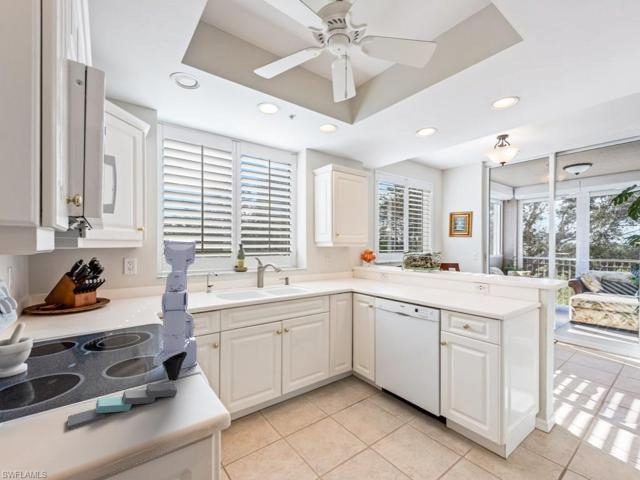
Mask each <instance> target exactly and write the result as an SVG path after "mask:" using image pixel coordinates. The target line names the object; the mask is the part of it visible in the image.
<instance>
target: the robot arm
mask: <svg viewBox="0 0 640 480" xmlns="http://www.w3.org/2000/svg"><path fill="white" fill-rule="evenodd" d="M196 244H197V243H196V240H194V239H192V240H185V239H184V240H182V239H181V240H180V239H179V240H178V239H166V240H165V241H164V247H163V249H164V250H163V251H164V252H163V253H164V258H165V261H166V264H168V265H170V266H171V272H170V273H168V274H167V276H166V282H165V283H166V284H165V289H164V293H162V297H161V311H162V325H161V340H162V346H159V352H158V353H157V355H156V356H155V357H153V361H152V363H153V366H158V367H161V366H163V367H164V369H165V371H166V374H167V378H168V381H173V382H175V381H176V380H178V379H179V376H180V372H181V370H182V369H186V368H190V367H195V366H197V365H198V363H197V356H198V354H197V353H198V352H197V351H198V350H197V348H198V344H197V339H196V337H194V326H195V322H194V316H193V314H192V313H191V312H189V311H187V309H188V300H189V294H188V275H187V274H188V270H189V267H190V266H191V265H192V264H194V263H195V260H196V250H197V249H196ZM195 362H196V363H195Z"/></svg>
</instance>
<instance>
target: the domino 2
mask: <svg viewBox="0 0 640 480" xmlns="http://www.w3.org/2000/svg"><path fill="white" fill-rule="evenodd" d="M131 407H132V404H124V402H123V398H122V396H112V397H111V396H110V397H98V398H97V400H96V404H95V408H96V413H105V414H106V413H117V412H130V410H131Z"/></svg>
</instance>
